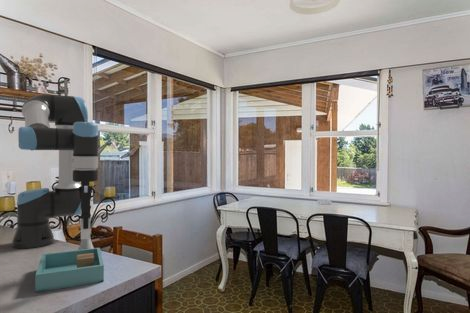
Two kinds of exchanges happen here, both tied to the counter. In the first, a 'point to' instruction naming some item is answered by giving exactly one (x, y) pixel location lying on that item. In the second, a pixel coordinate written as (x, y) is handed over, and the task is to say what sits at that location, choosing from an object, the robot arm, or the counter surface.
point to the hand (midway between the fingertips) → (85, 233)
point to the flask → (85, 244)
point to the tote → (67, 270)
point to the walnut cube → (85, 260)
